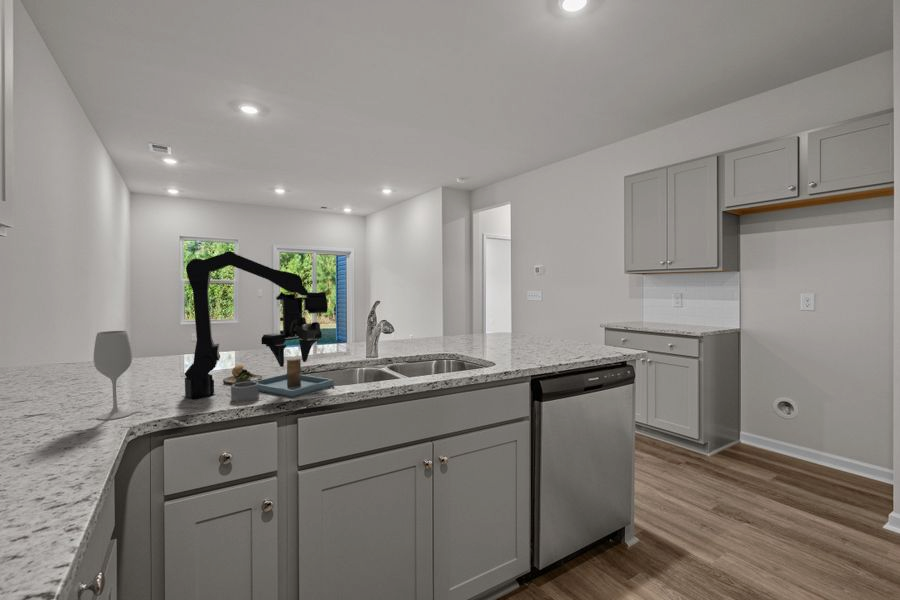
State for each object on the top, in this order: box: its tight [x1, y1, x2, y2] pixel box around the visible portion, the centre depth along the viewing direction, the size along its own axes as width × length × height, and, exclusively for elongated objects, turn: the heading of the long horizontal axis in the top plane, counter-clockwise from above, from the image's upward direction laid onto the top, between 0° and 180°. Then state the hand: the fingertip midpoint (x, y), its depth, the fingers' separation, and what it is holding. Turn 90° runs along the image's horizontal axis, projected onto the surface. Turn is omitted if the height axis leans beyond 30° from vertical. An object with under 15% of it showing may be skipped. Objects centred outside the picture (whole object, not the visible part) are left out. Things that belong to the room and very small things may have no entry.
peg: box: [286, 358, 302, 387], centre depth 137 cm, size 4×4×8 cm
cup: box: [230, 380, 260, 403], centre depth 124 cm, size 7×7×4 cm
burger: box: [222, 364, 263, 386], centre depth 145 cm, size 12×12×8 cm
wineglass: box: [93, 330, 134, 421], centre depth 110 cm, size 8×8×21 cm
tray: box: [252, 373, 335, 399], centre depth 137 cm, size 16×20×2 cm
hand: (293, 364), depth 137 cm, fingers open, 8 cm apart
